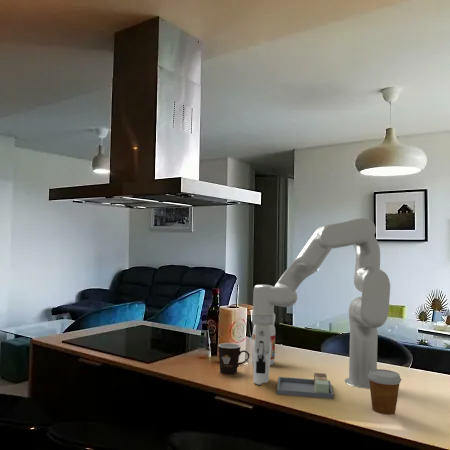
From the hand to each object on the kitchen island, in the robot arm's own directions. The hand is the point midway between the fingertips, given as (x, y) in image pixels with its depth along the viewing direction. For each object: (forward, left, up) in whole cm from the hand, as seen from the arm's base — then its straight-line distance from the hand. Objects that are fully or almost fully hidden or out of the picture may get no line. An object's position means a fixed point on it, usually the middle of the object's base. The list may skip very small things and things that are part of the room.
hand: (261, 370), depth 159 cm
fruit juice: (+1, -28, -5) cm, 28 cm away
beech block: (-21, +6, -4) cm, 22 cm away
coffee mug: (+12, -10, -5) cm, 16 cm away
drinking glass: (0, 0, -5) cm, 5 cm away
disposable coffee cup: (-38, +20, -5) cm, 43 cm away
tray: (-15, +6, -5) cm, 17 cm away
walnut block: (-21, +2, -4) cm, 21 cm away
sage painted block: (-21, +10, -4) cm, 23 cm away
